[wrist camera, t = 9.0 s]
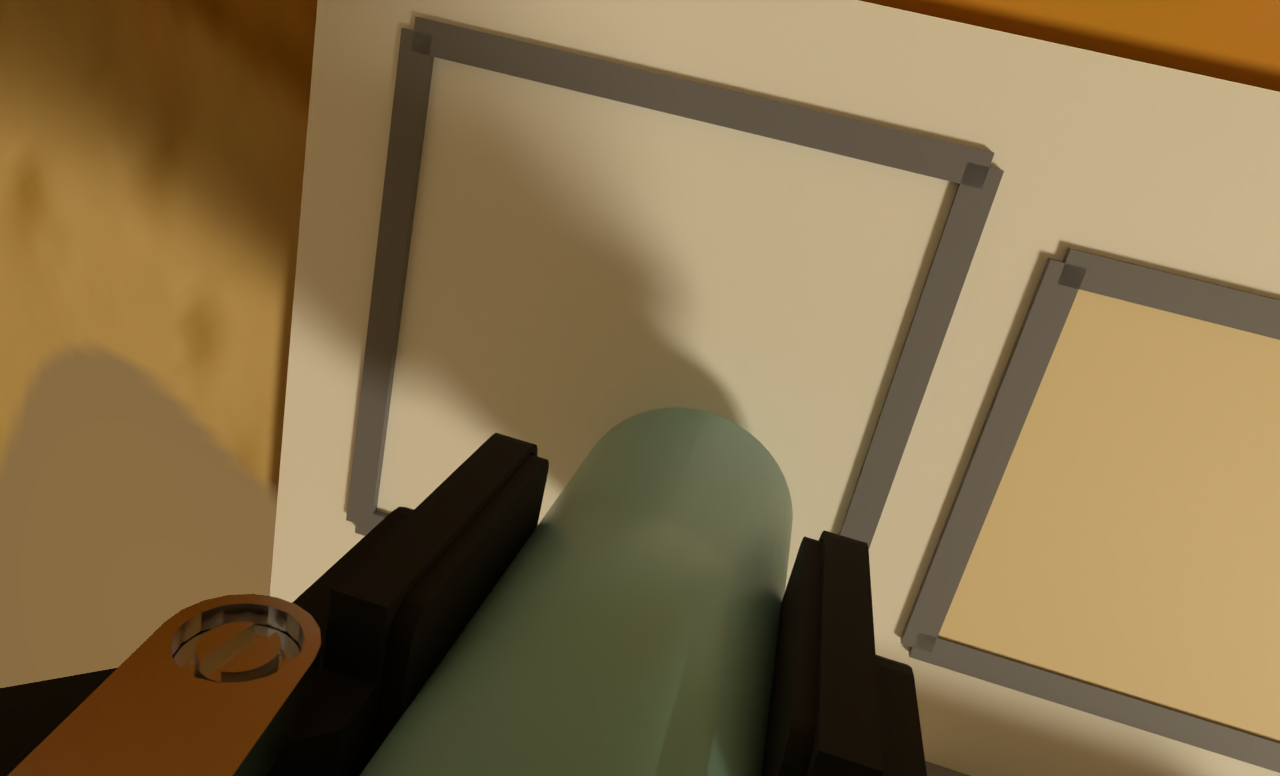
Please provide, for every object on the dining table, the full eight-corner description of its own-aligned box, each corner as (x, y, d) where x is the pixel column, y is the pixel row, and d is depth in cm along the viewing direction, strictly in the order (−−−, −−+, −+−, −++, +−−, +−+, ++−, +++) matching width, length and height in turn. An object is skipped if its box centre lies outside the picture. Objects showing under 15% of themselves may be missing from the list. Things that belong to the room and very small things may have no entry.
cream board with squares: (348, -107, 13) (320, -118, 13) (1810, 212, 11) (1876, 220, 10) (269, 780, 20) (248, 805, 19) (1188, 1116, 17) (1203, 1160, 16)
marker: (597, 377, 13) (-226, 1314, 3) (824, 442, 13) (770, 1796, 3) (555, 571, 14) (-129, 1708, 4) (761, 636, 14) (553, 2087, 4)
